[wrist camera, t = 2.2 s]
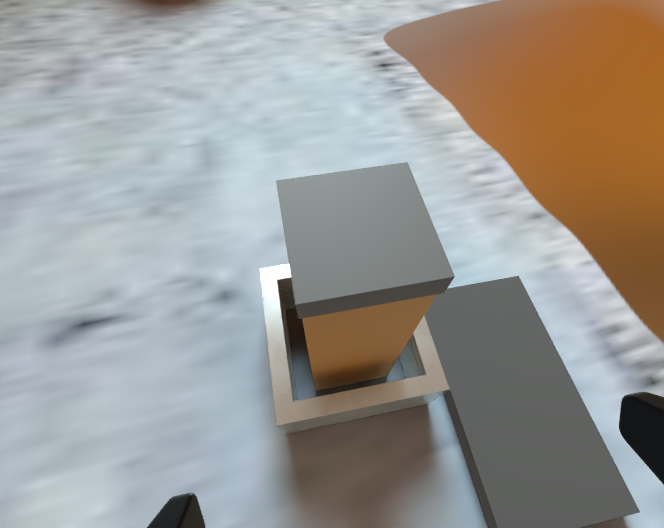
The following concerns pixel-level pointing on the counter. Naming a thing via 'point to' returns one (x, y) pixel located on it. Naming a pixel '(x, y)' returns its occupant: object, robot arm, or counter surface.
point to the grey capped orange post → (360, 267)
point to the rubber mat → (521, 413)
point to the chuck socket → (295, 415)
